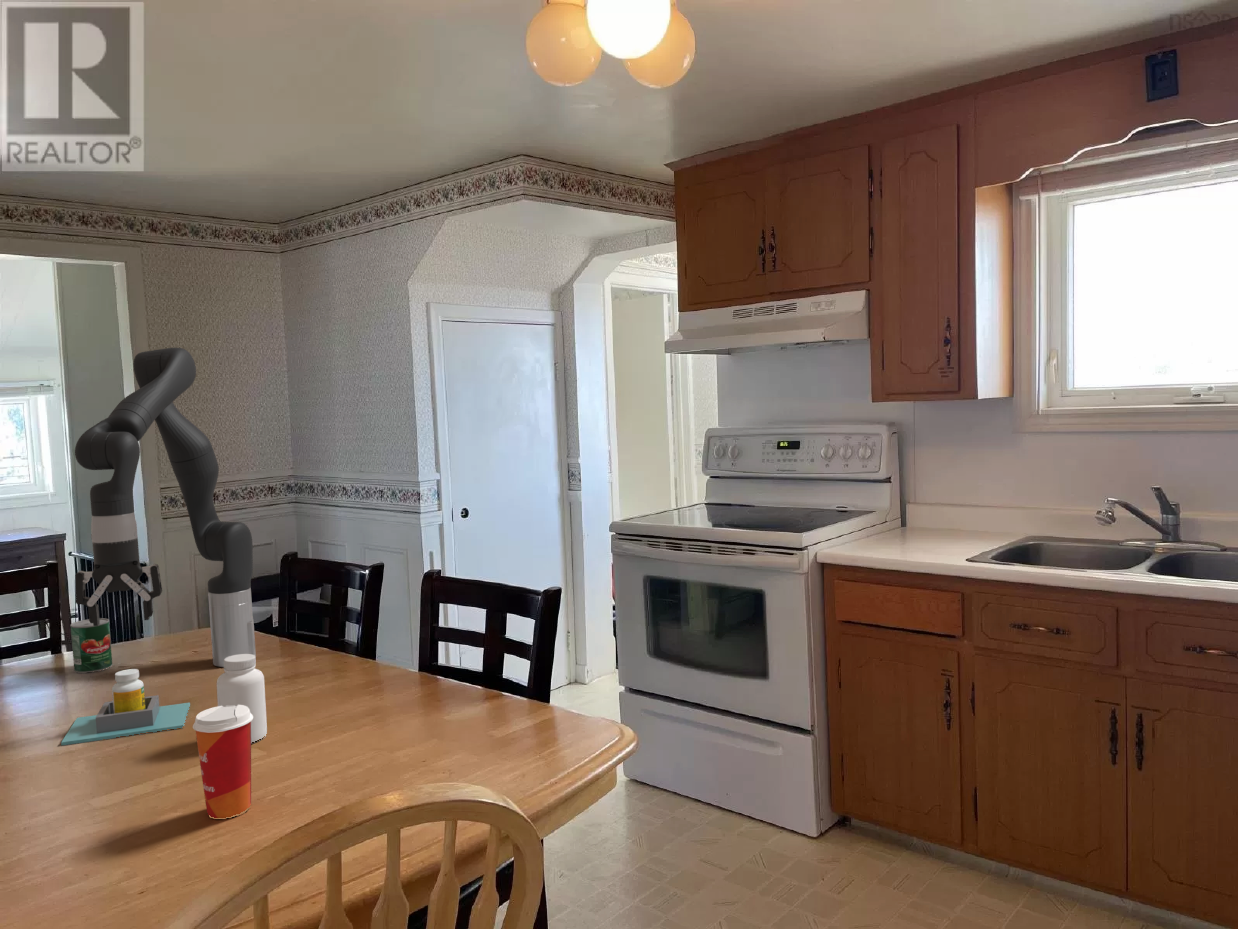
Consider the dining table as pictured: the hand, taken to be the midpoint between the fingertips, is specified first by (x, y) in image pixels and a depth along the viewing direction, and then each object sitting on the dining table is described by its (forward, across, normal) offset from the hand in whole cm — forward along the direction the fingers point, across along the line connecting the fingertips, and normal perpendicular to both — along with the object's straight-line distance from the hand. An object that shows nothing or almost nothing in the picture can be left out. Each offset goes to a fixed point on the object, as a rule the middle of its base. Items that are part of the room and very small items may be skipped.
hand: (122, 622), depth 173 cm
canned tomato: (+20, +14, -47) cm, 53 cm away
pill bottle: (+20, -21, +18) cm, 34 cm away
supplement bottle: (+20, 0, 0) cm, 20 cm away
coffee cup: (+20, -20, +49) cm, 57 cm away
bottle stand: (+20, 0, 0) cm, 20 cm away
